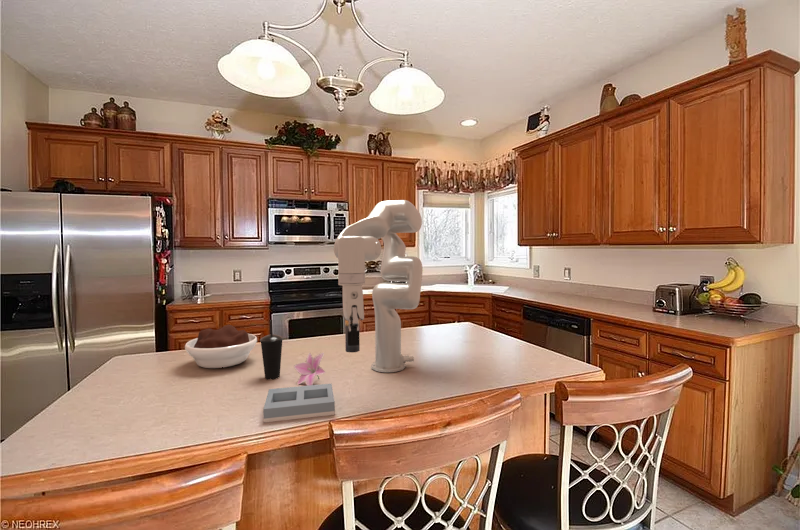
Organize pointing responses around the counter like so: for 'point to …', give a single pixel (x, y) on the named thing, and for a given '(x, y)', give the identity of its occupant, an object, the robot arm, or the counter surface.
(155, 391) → the counter surface
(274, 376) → the drinking cup
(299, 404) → the tray
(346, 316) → the robot arm
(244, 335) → the white bowl of brownies
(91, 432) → the counter surface
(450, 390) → the counter surface
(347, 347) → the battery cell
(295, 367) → the lily
